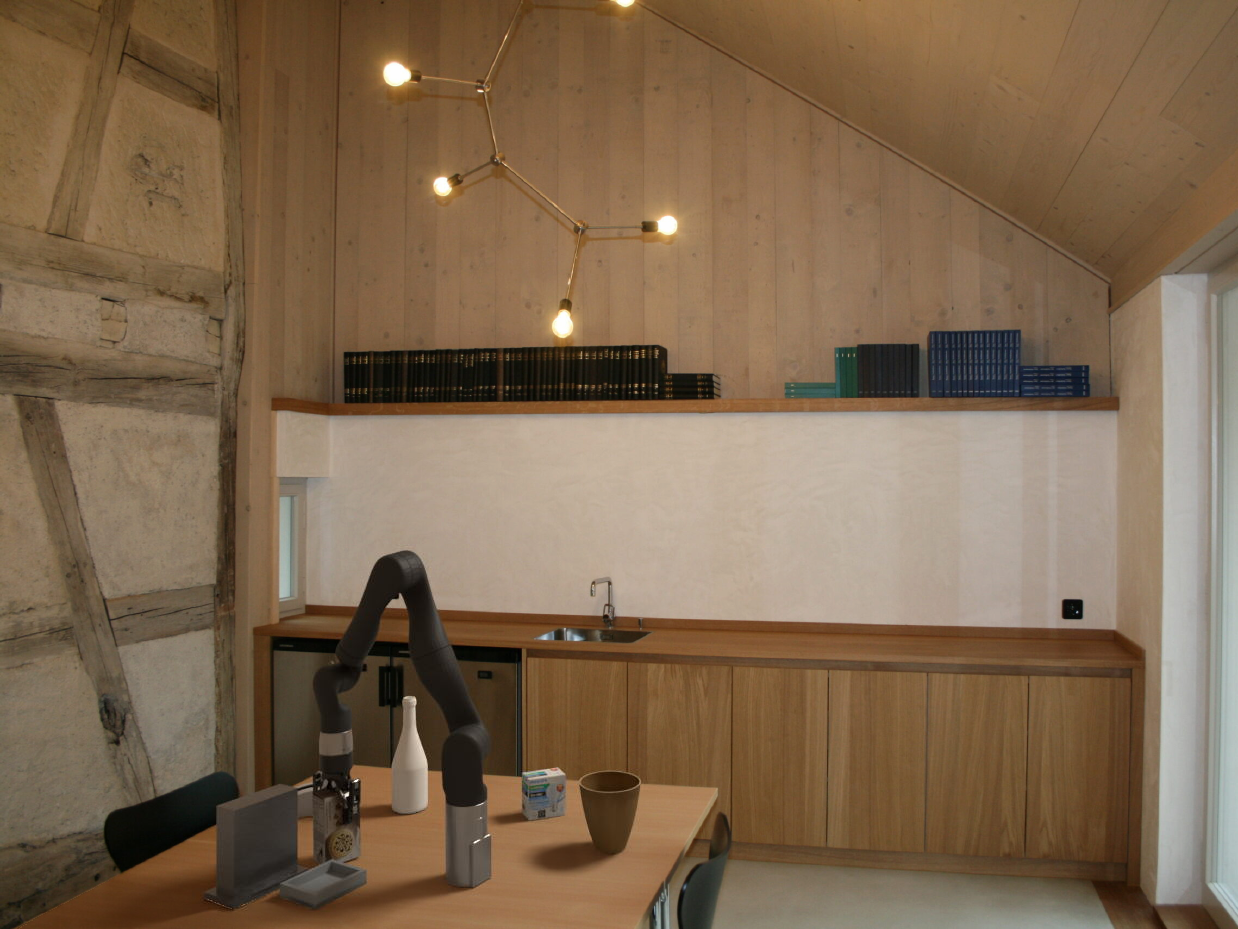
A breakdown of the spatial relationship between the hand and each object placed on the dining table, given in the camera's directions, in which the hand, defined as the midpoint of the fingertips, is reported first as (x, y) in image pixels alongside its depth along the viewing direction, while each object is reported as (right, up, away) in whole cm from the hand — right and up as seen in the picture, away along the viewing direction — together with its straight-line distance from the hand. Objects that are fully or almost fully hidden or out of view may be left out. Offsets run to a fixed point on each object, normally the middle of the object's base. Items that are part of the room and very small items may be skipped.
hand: (336, 820), depth 205 cm
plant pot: (+64, -9, +5) cm, 65 cm away
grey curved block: (-14, -11, +30) cm, 35 cm away
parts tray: (+2, -9, -16) cm, 18 cm away
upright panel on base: (-13, -9, -14) cm, 21 cm away
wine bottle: (+9, -10, +33) cm, 35 cm away
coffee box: (0, -9, 0) cm, 9 cm away
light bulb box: (+46, -10, +28) cm, 55 cm away
